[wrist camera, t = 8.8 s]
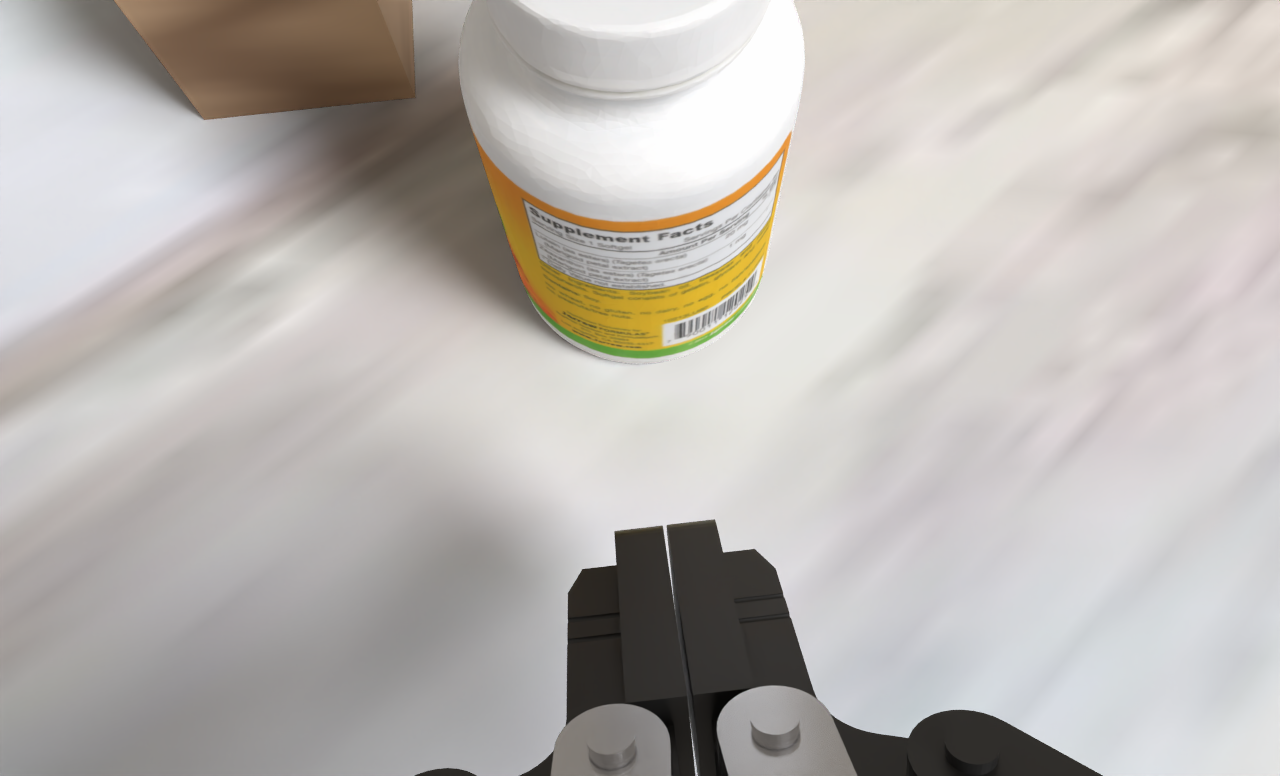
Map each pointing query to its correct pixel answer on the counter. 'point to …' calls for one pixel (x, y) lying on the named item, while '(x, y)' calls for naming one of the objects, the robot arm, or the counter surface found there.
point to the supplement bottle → (635, 158)
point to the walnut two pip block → (280, 51)
